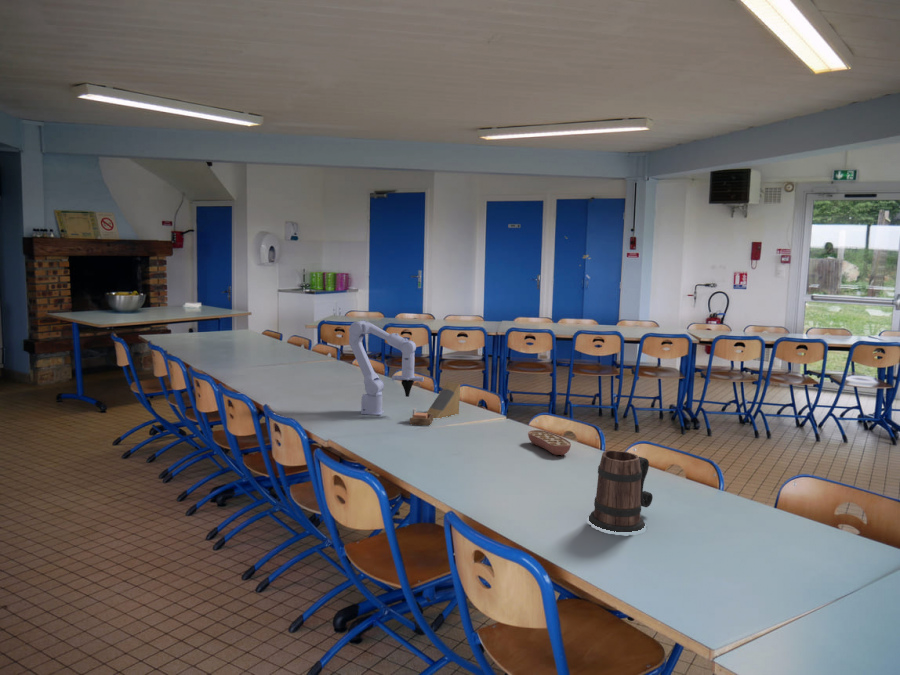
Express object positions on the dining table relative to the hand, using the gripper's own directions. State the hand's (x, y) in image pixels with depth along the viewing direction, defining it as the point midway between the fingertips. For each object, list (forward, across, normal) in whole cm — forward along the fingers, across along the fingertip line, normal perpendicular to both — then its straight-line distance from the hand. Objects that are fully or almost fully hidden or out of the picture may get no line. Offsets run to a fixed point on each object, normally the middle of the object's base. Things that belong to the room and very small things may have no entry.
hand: (407, 396), depth 298 cm
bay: (+9, +8, -10) cm, 16 cm away
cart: (+10, +8, -10) cm, 16 cm away
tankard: (+10, +83, -106) cm, 135 cm away
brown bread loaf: (+10, +64, -39) cm, 76 cm away
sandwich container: (+10, +15, +6) cm, 19 cm away
